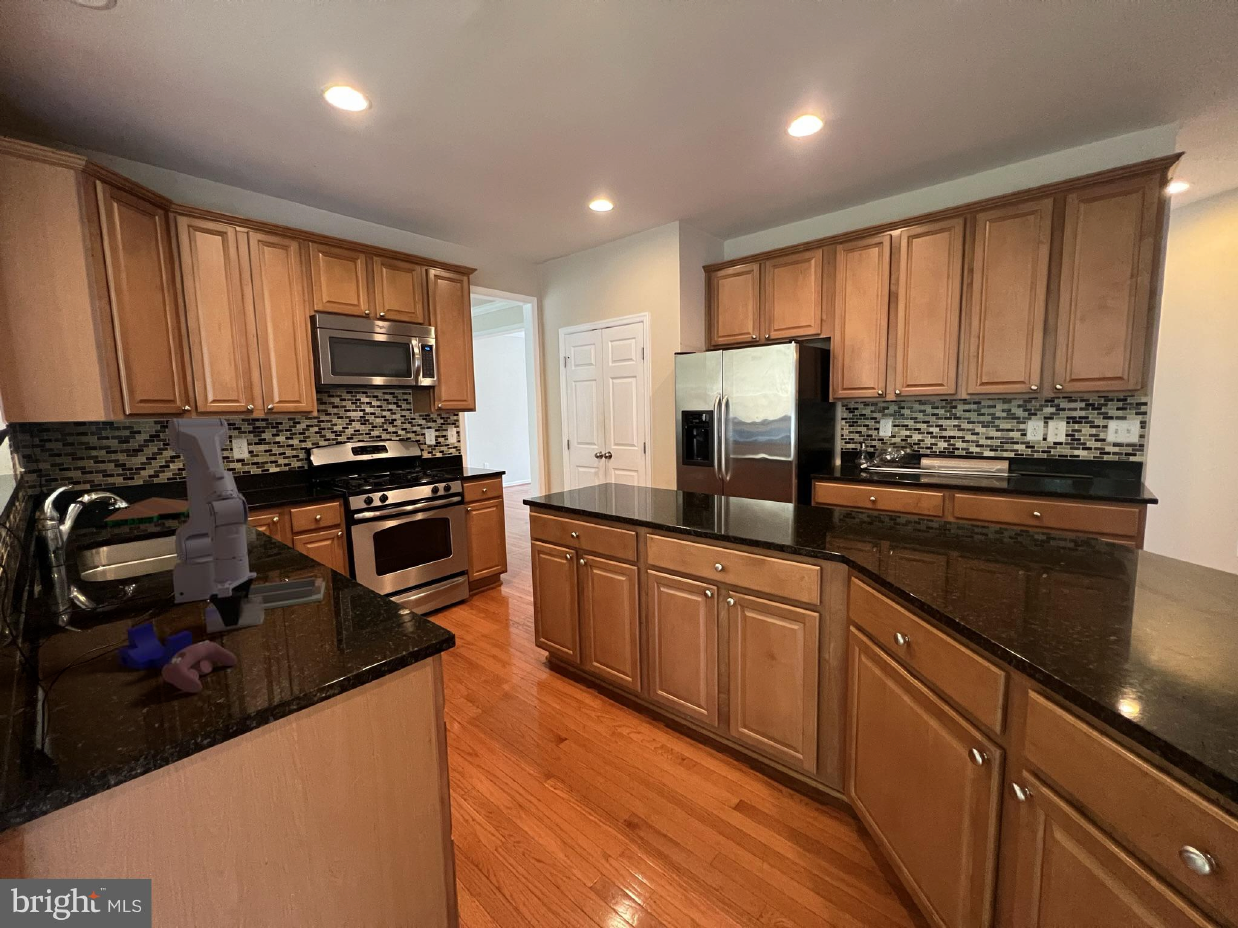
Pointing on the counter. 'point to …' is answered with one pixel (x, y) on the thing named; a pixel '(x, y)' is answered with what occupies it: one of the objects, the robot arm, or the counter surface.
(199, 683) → the video game controller
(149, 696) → the counter surface
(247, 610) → the block
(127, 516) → the house
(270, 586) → the drive tray
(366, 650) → the counter surface
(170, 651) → the cable clip
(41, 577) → the counter surface
